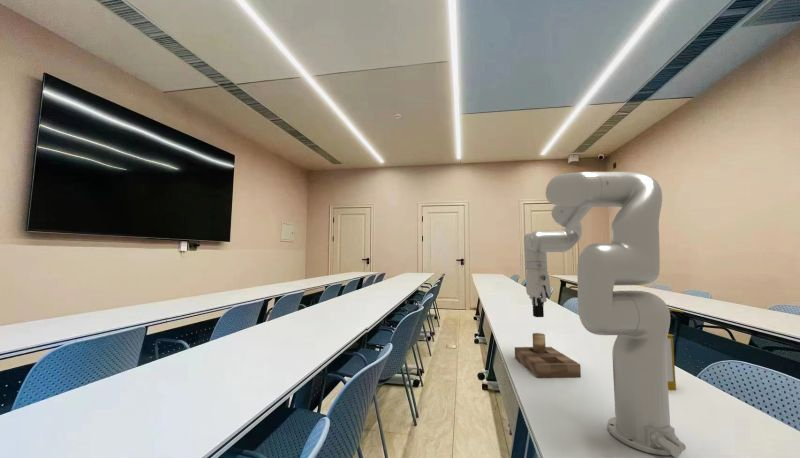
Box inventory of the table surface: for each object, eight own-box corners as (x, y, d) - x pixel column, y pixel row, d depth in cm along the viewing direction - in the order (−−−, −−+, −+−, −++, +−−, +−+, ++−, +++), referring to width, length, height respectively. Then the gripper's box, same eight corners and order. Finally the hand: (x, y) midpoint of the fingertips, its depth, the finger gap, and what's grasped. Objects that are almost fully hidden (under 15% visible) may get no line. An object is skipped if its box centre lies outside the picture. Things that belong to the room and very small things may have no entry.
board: (580, 377, 98) (580, 364, 98) (537, 378, 97) (537, 365, 97) (551, 357, 116) (550, 346, 116) (514, 358, 115) (514, 347, 115)
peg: (548, 364, 108) (547, 336, 109) (536, 364, 108) (535, 336, 109) (542, 360, 113) (541, 332, 113) (531, 360, 113) (530, 332, 113)
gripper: (556, 266, 106) (559, 320, 104) (536, 265, 121) (538, 313, 119) (535, 266, 106) (538, 321, 104) (517, 265, 120) (519, 313, 119)
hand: (538, 316), depth 111 cm, fingers closed
